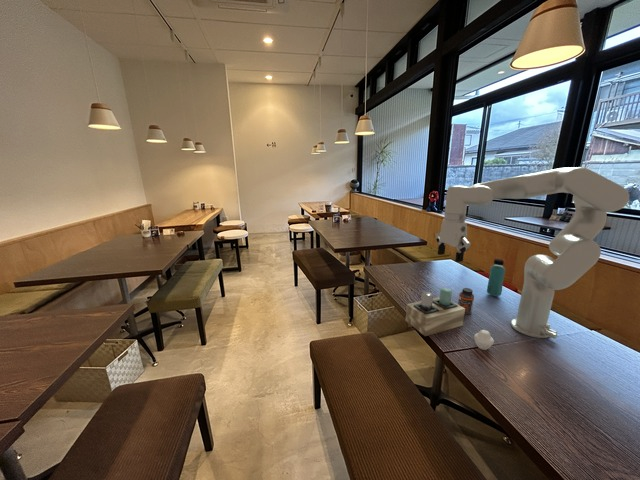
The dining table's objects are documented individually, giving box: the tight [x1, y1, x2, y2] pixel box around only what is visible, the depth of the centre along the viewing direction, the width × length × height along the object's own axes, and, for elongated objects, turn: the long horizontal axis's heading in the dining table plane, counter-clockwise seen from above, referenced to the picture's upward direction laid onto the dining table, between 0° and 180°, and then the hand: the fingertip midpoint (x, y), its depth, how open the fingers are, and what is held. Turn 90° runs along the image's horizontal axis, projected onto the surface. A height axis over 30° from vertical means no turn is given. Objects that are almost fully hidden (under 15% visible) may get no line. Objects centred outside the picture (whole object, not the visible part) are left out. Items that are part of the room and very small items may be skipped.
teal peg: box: [439, 287, 453, 307], centre depth 110 cm, size 4×4×8 cm
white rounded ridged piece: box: [473, 329, 495, 351], centre depth 95 cm, size 6×6×7 cm
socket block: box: [405, 296, 466, 337], centre depth 110 cm, size 12×20×9 cm, turn 110°
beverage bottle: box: [486, 258, 506, 297], centre depth 132 cm, size 6×7×20 cm
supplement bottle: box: [457, 287, 475, 315], centre depth 118 cm, size 6×6×11 cm
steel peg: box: [420, 291, 434, 311], centre depth 107 cm, size 4×4×8 cm
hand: (449, 257), depth 107 cm, fingers open, 9 cm apart
